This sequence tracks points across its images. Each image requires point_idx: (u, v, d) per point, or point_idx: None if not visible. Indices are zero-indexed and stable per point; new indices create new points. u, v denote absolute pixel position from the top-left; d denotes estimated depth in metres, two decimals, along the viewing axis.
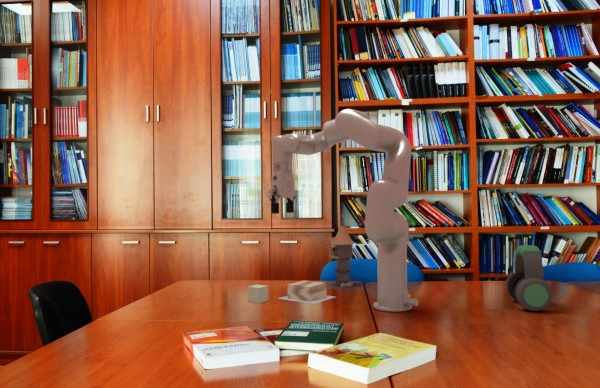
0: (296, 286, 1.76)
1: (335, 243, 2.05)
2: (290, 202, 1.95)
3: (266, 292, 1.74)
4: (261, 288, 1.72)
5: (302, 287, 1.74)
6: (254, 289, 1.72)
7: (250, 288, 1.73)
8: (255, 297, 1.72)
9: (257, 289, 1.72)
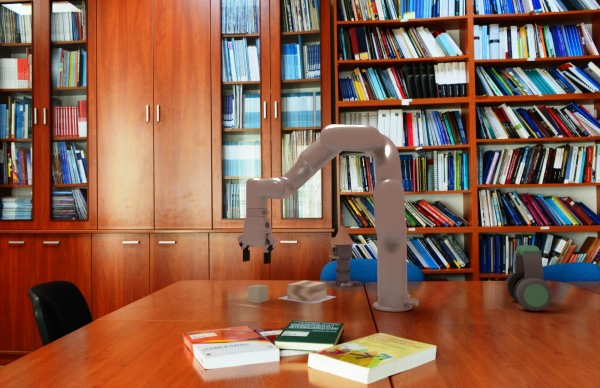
0: (296, 286, 1.76)
1: (335, 243, 2.05)
2: (247, 250, 1.78)
3: (266, 292, 1.74)
4: (261, 288, 1.72)
5: (302, 287, 1.74)
6: (254, 289, 1.72)
7: (250, 288, 1.73)
8: (255, 297, 1.72)
9: (257, 289, 1.72)
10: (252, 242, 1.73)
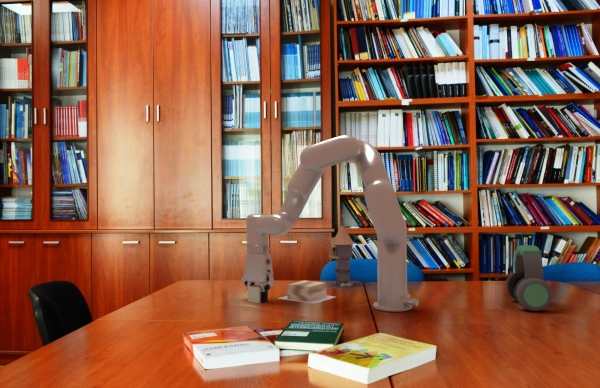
0: (296, 286, 1.76)
1: (335, 243, 2.05)
2: None
3: None
4: None
5: (302, 287, 1.74)
6: (254, 289, 1.72)
7: (250, 288, 1.73)
8: (255, 297, 1.72)
9: (257, 289, 1.72)
10: (253, 279, 1.73)
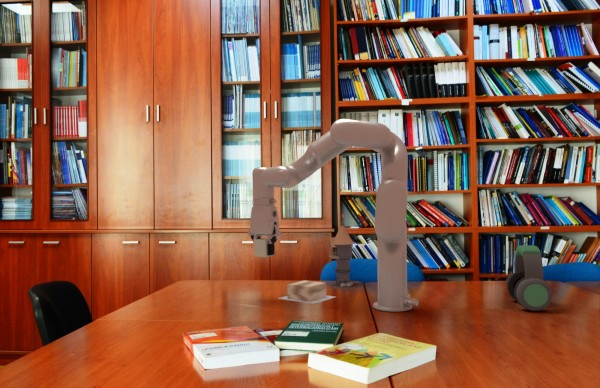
0: (296, 286, 1.76)
1: (335, 243, 2.05)
2: None
3: None
4: (267, 240, 1.73)
5: (302, 287, 1.74)
6: (260, 241, 1.73)
7: (256, 241, 1.74)
8: (262, 249, 1.73)
9: (264, 241, 1.72)
10: (260, 231, 1.74)
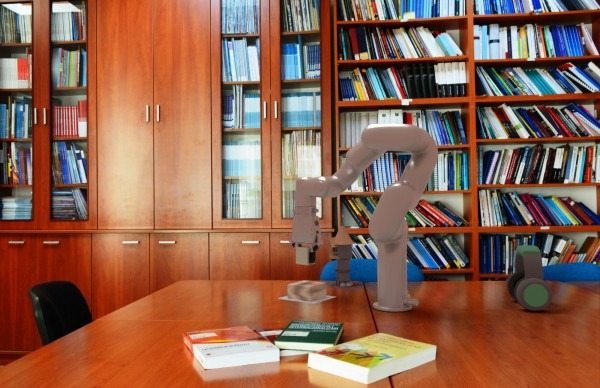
0: (296, 286, 1.76)
1: (335, 243, 2.05)
2: None
3: None
4: (309, 248, 1.77)
5: (302, 287, 1.74)
6: (302, 249, 1.77)
7: (298, 248, 1.78)
8: (304, 257, 1.77)
9: (306, 249, 1.76)
10: (302, 239, 1.78)
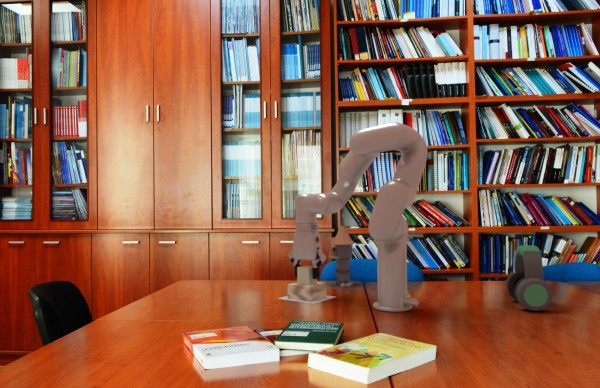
0: (296, 286, 1.76)
1: (335, 243, 2.05)
2: (299, 265, 1.82)
3: None
4: (311, 268, 1.77)
5: (302, 287, 1.74)
6: (304, 269, 1.77)
7: (300, 268, 1.78)
8: (305, 277, 1.77)
9: (307, 269, 1.76)
10: (303, 256, 1.78)
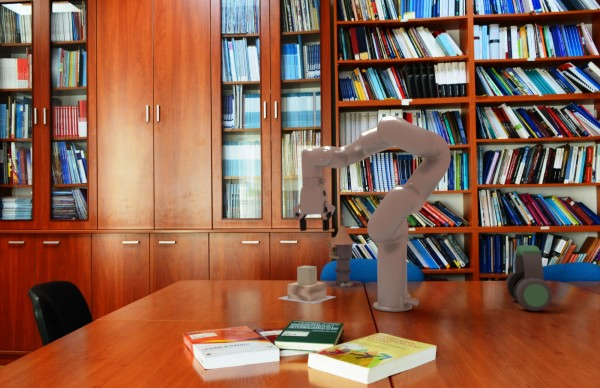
0: (296, 286, 1.76)
1: (335, 243, 2.05)
2: (304, 219, 1.83)
3: (315, 273, 1.79)
4: (311, 268, 1.77)
5: (302, 287, 1.74)
6: (304, 269, 1.77)
7: (300, 268, 1.78)
8: (305, 277, 1.77)
9: (307, 269, 1.76)
10: (310, 211, 1.78)
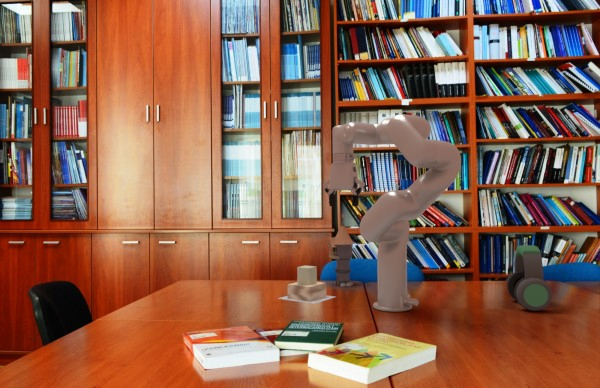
0: (296, 286, 1.76)
1: (335, 243, 2.05)
2: (333, 195, 1.86)
3: (315, 273, 1.79)
4: (311, 268, 1.77)
5: (302, 287, 1.74)
6: (304, 269, 1.77)
7: (300, 268, 1.78)
8: (305, 277, 1.77)
9: (307, 269, 1.76)
10: (340, 186, 1.81)
